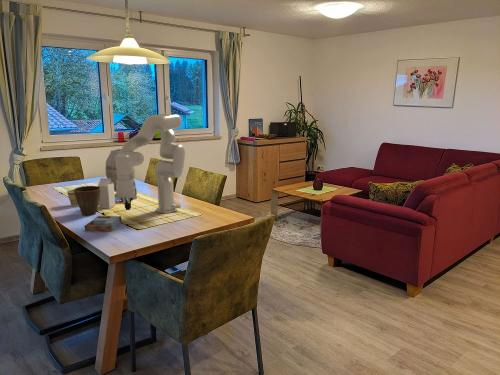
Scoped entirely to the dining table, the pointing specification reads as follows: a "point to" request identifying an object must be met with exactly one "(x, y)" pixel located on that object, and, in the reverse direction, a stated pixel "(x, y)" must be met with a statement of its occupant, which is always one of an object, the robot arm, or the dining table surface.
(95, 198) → the plant pot
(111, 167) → the vase
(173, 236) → the dining table surface
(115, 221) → the t block
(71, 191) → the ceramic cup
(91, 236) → the dining table surface
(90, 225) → the corral
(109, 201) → the milk carton
